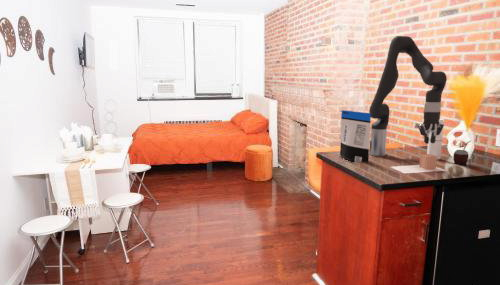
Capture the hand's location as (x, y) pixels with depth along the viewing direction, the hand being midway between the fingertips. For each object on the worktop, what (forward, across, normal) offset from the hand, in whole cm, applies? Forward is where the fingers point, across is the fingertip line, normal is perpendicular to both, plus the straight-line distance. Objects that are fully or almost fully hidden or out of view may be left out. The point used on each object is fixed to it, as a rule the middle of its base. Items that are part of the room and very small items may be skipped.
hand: (429, 143), depth 171 cm
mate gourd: (+15, -26, -6) cm, 31 cm away
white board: (+15, +6, 0) cm, 16 cm away
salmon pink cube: (+14, 0, 0) cm, 14 cm away
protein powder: (+15, +28, -30) cm, 43 cm away
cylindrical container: (+15, -18, -19) cm, 30 cm away
